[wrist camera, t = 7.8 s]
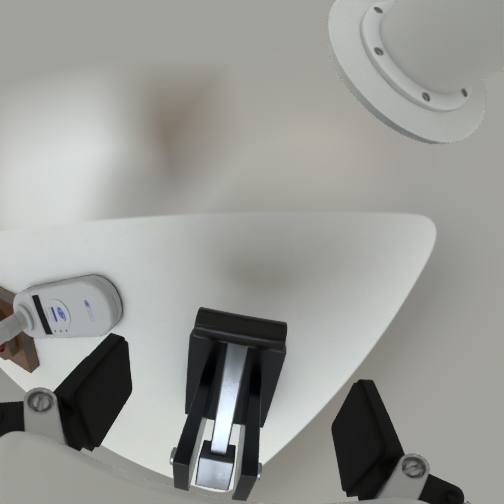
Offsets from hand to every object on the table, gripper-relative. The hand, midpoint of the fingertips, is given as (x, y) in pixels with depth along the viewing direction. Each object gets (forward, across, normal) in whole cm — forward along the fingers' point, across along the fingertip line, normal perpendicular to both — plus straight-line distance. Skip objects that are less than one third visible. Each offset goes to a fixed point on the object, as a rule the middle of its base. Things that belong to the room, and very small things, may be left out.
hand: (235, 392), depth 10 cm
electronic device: (+12, +18, +6) cm, 23 cm away
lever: (+5, 0, +6) cm, 7 cm away
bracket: (+12, 0, +10) cm, 15 cm away
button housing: (+11, +30, +13) cm, 35 cm away
